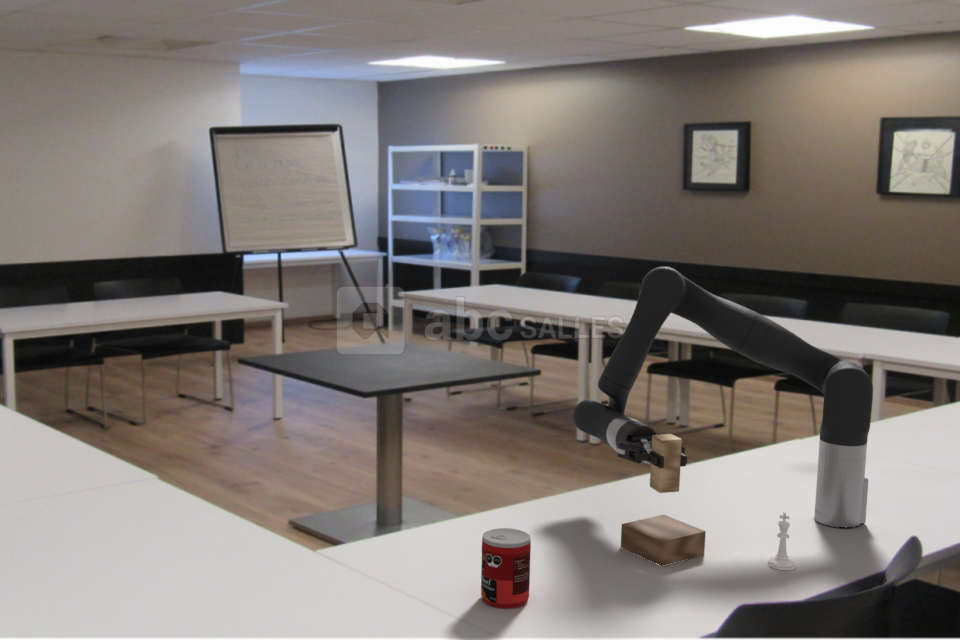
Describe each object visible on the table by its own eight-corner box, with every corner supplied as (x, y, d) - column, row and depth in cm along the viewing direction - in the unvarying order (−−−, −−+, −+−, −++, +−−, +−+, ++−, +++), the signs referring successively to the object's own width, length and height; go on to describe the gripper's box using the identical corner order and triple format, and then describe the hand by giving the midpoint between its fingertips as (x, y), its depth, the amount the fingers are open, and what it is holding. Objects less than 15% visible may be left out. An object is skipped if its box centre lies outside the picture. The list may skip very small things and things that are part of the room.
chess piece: (797, 571, 179) (800, 518, 177) (768, 569, 180) (771, 515, 178) (794, 561, 184) (797, 509, 182) (766, 559, 185) (769, 507, 183)
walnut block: (662, 539, 195) (663, 514, 194) (704, 556, 186) (705, 531, 185) (620, 549, 189) (621, 524, 188) (661, 568, 180) (662, 541, 179)
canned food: (478, 590, 168) (480, 528, 166) (525, 589, 168) (527, 527, 167) (482, 609, 160) (484, 544, 159) (532, 609, 161) (533, 543, 159)
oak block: (668, 485, 188) (671, 433, 187) (679, 491, 185) (681, 439, 183) (649, 486, 187) (652, 435, 186) (659, 493, 183) (662, 440, 182)
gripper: (599, 422, 196) (639, 444, 180) (664, 418, 200) (708, 439, 184) (598, 458, 197) (637, 484, 181) (662, 454, 201) (706, 479, 185)
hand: (673, 461), depth 182 cm, fingers closed on oak block, 4 cm apart
